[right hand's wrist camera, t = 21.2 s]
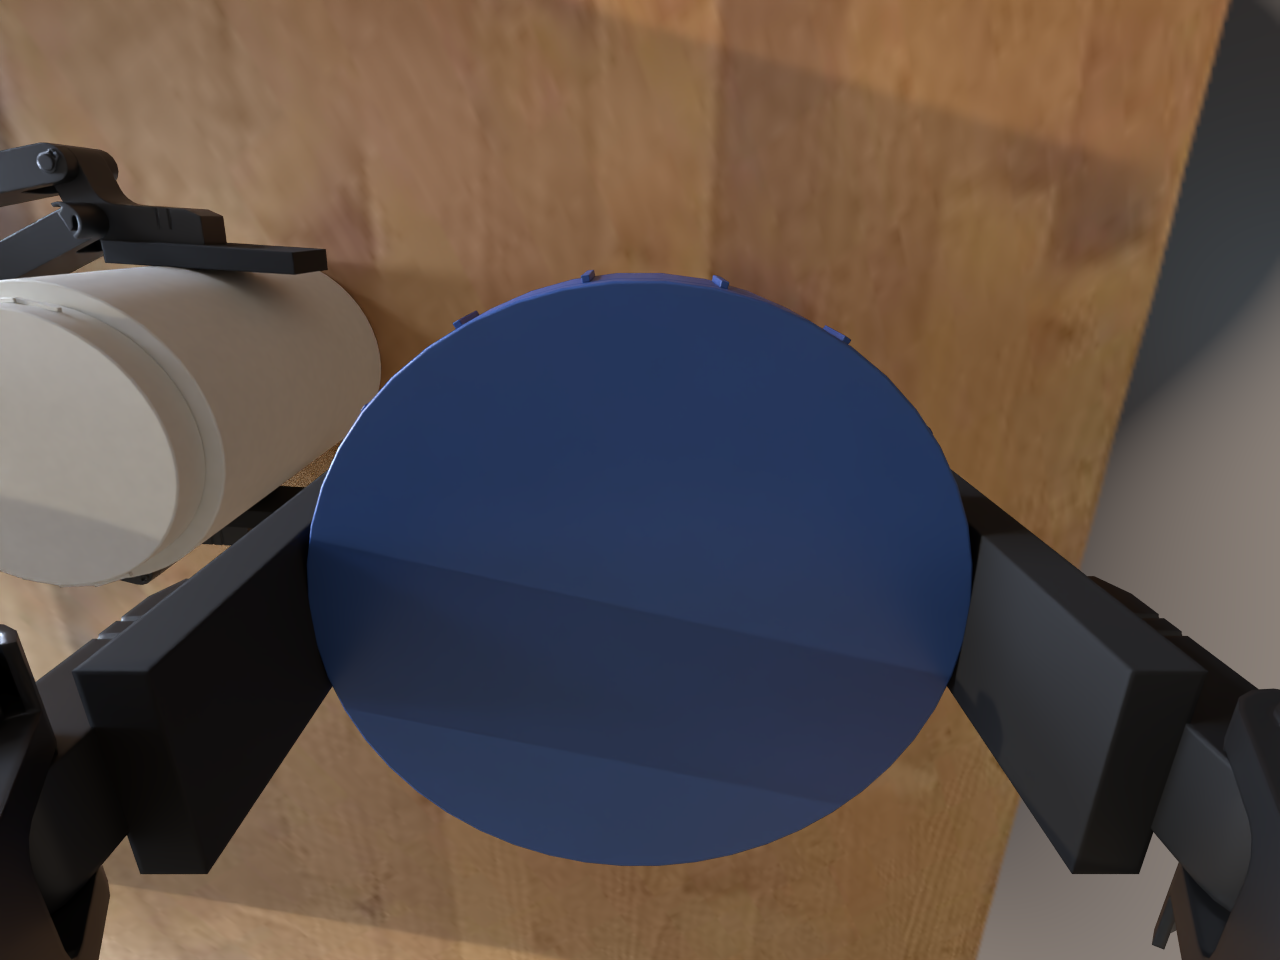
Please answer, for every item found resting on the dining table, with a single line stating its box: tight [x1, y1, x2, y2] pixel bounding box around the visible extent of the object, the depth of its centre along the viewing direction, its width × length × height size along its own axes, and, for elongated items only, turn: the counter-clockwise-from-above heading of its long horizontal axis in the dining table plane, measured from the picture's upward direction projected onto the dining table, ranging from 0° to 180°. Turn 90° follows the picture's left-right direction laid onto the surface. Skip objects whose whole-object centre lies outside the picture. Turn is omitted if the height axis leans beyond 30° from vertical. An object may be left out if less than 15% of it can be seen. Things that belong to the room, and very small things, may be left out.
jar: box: [0, 266, 381, 587], centre depth 26 cm, size 9×9×15 cm
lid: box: [307, 270, 973, 866], centre depth 11 cm, size 10×10×2 cm
